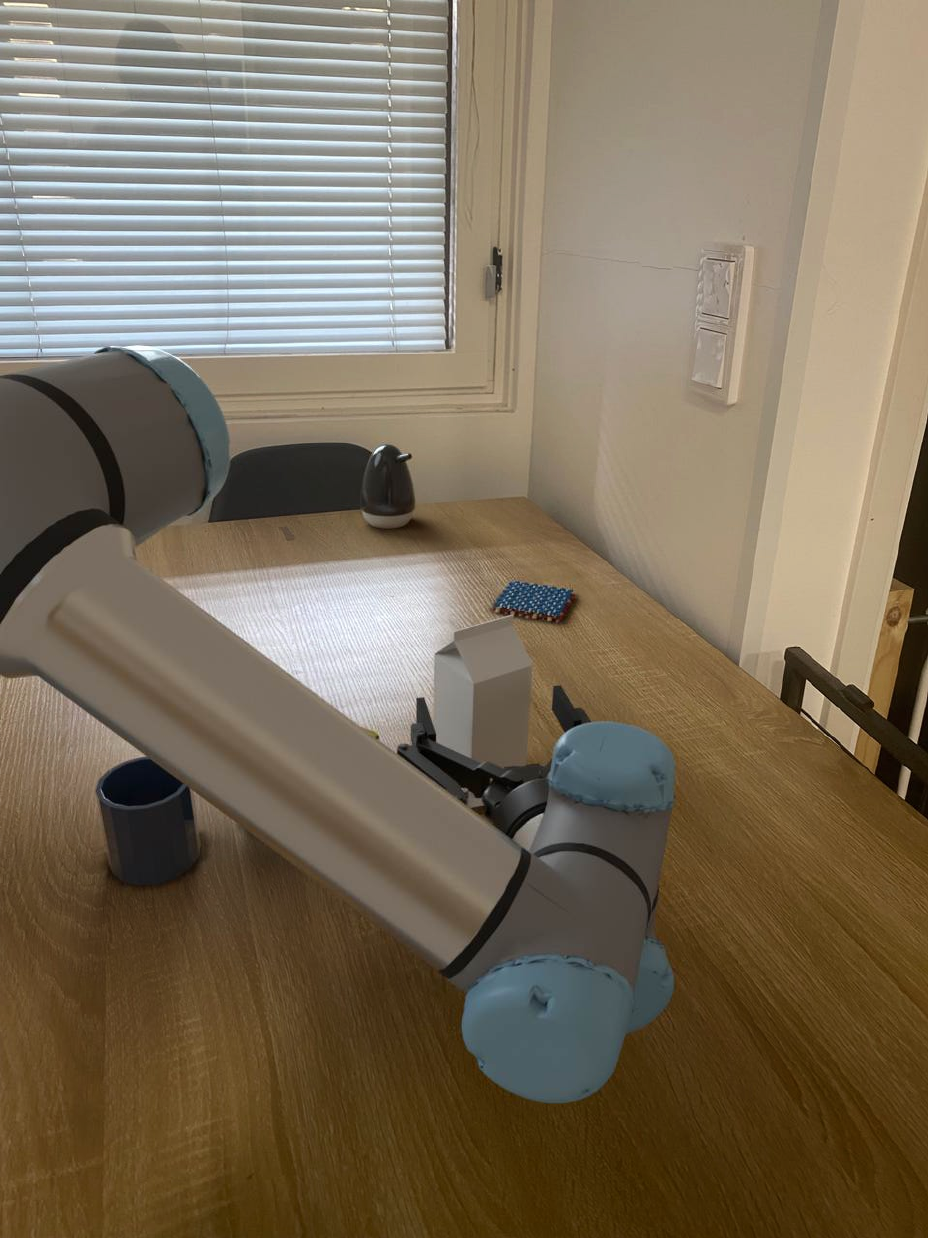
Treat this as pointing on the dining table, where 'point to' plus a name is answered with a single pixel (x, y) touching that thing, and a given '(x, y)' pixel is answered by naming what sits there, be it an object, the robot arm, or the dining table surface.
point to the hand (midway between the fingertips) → (489, 703)
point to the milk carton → (484, 694)
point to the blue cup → (147, 822)
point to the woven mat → (534, 601)
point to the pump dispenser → (387, 489)
